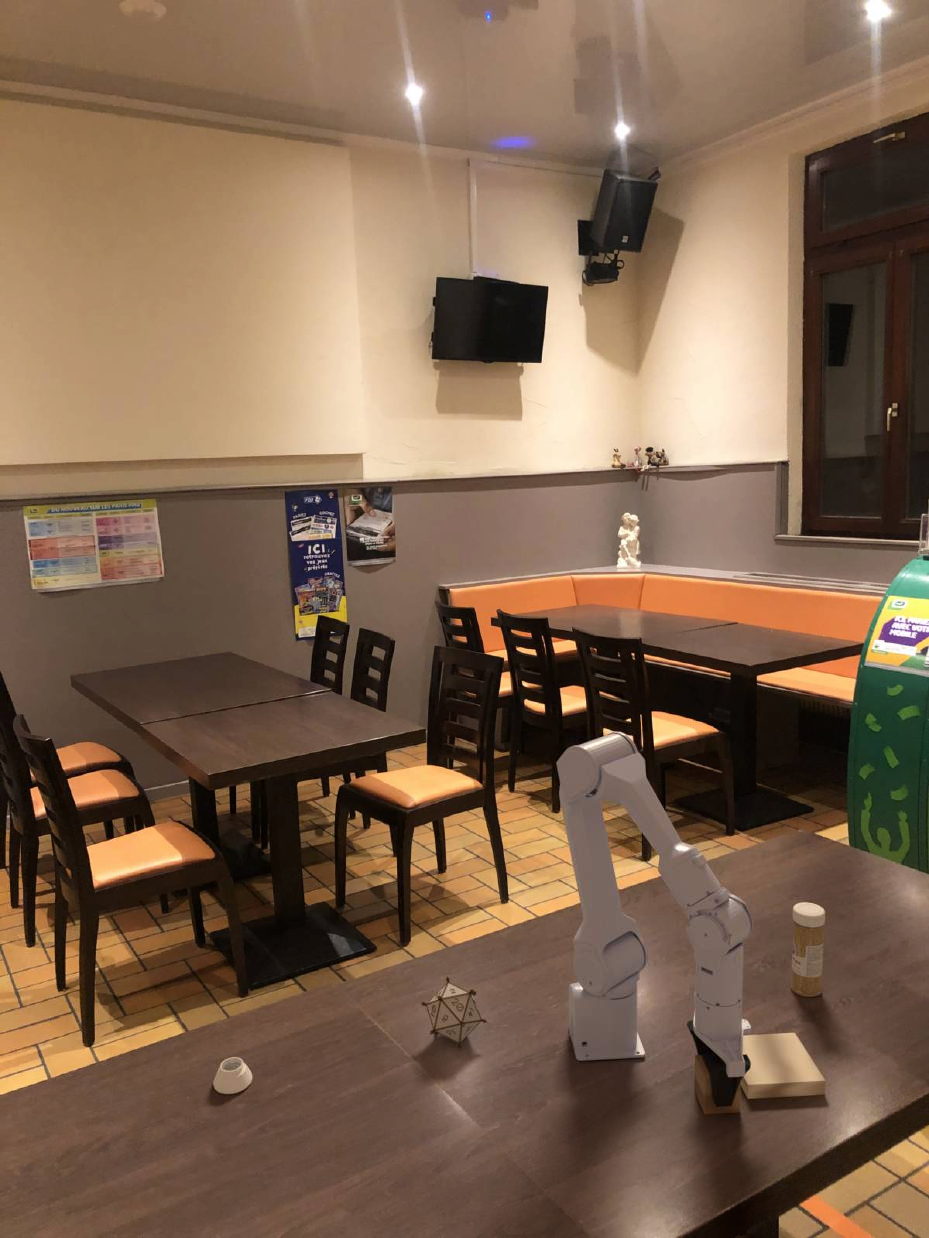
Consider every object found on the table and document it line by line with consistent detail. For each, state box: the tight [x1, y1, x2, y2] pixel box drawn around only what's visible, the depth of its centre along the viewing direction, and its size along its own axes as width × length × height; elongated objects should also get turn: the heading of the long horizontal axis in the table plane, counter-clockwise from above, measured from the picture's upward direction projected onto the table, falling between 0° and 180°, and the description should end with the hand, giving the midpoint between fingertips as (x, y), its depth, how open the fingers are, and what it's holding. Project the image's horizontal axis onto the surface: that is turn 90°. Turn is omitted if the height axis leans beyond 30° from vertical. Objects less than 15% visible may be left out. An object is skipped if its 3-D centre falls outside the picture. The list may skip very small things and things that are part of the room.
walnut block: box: [693, 1054, 742, 1115], centre depth 118 cm, size 4×4×5 cm
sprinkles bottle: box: [790, 901, 826, 998], centre depth 140 cm, size 5×5×13 cm
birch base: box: [741, 1032, 826, 1100], centre depth 123 cm, size 10×10×2 cm
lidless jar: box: [212, 1056, 253, 1095], centre depth 125 cm, size 5×3×5 cm
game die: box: [420, 975, 488, 1051], centre depth 132 cm, size 9×8×10 cm
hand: (716, 1090), depth 118 cm, fingers closed on walnut block, 4 cm apart
